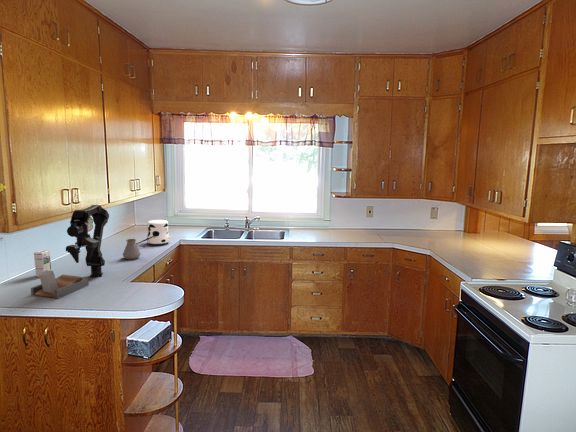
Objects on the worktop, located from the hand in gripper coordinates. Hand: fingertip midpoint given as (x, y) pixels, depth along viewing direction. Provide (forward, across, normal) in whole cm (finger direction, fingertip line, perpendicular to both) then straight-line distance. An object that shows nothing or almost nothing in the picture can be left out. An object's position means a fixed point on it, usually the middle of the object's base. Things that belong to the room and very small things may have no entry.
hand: (83, 260), depth 221 cm
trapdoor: (+13, -13, +4) cm, 19 cm away
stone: (+11, -19, +4) cm, 22 cm away
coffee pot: (+13, +56, +4) cm, 58 cm away
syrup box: (+13, +4, +32) cm, 35 cm away
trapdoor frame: (+13, -13, +4) cm, 19 cm away
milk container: (+13, +98, +15) cm, 100 cm away
